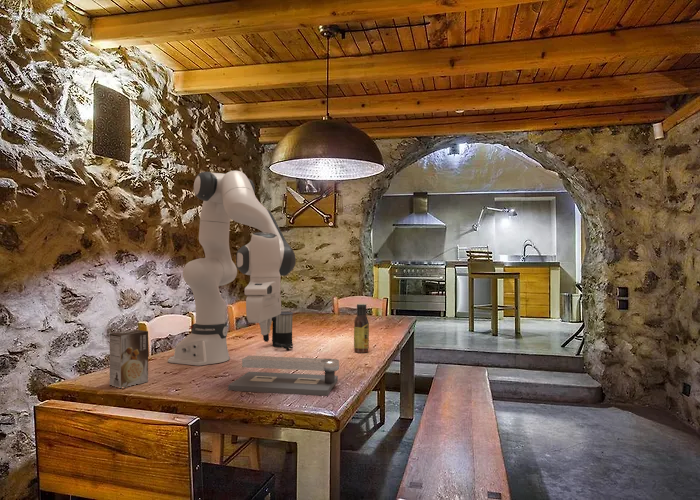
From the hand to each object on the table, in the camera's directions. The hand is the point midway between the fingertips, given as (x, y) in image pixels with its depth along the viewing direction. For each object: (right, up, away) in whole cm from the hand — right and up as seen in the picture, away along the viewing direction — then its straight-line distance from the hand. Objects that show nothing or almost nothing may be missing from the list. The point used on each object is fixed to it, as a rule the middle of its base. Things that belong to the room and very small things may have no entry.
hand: (265, 334), depth 129 cm
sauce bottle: (+30, -18, +55) cm, 65 cm away
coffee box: (-44, -17, +7) cm, 47 cm away
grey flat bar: (+7, -11, +6) cm, 15 cm away
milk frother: (-4, -18, +64) cm, 66 cm away
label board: (+5, -17, +7) cm, 19 cm away
